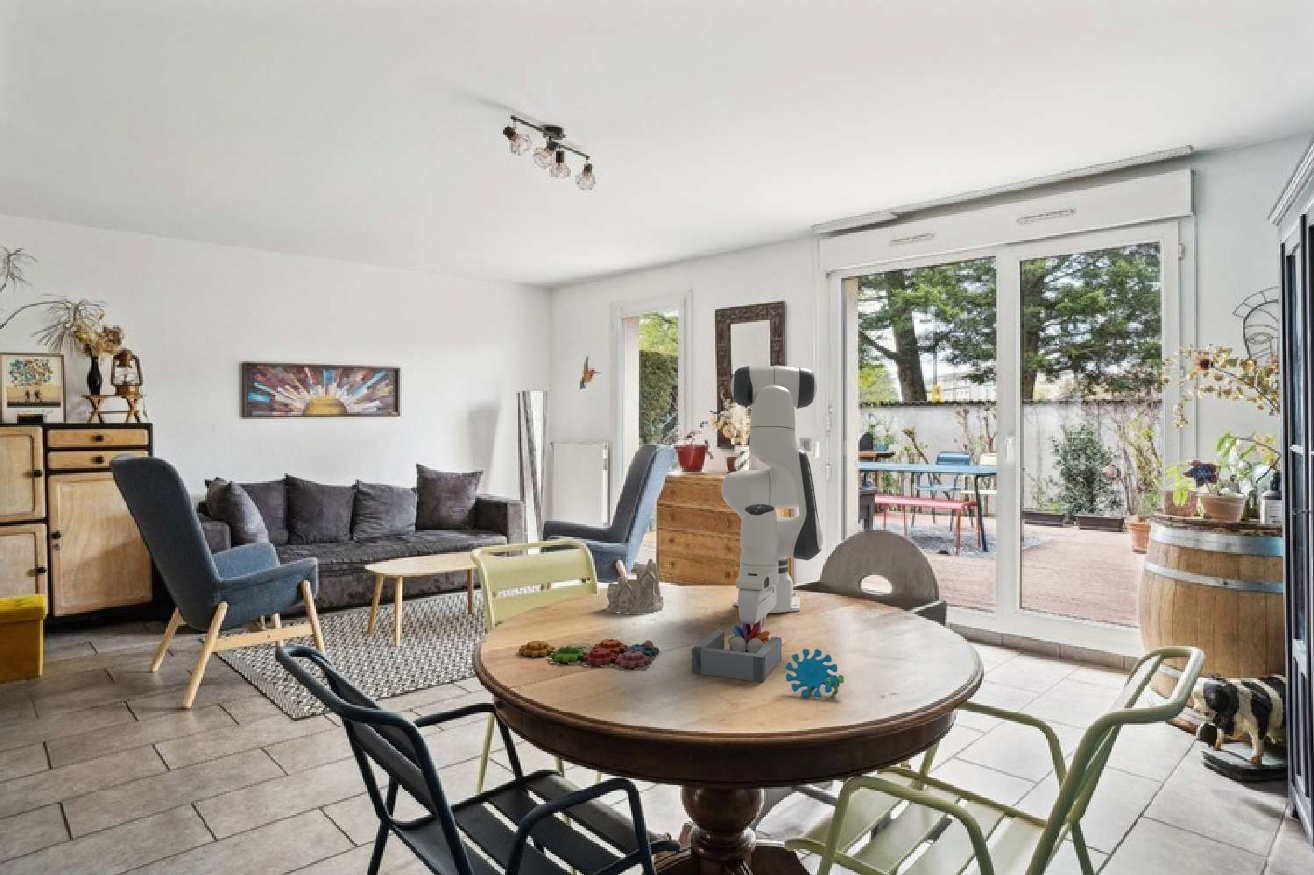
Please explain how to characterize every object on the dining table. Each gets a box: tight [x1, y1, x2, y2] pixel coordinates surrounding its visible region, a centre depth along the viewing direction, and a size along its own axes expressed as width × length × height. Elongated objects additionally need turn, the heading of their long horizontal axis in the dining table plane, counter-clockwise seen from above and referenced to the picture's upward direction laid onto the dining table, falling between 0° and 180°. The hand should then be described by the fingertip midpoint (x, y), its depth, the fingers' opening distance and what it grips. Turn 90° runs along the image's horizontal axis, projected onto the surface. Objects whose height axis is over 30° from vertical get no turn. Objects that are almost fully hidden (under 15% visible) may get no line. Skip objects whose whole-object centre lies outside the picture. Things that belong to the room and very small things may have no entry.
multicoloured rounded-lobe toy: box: [727, 622, 771, 653], centre depth 174 cm, size 8×10×7 cm
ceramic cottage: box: [606, 558, 664, 615], centre depth 218 cm, size 16×16×15 cm
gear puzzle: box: [518, 638, 661, 672], centre depth 171 cm, size 31×16×4 cm, turn 77°
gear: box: [785, 648, 845, 698], centre depth 148 cm, size 11×6×10 cm
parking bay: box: [691, 630, 783, 683], centre depth 163 cm, size 16×15×5 cm
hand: (758, 634), depth 179 cm, fingers closed
